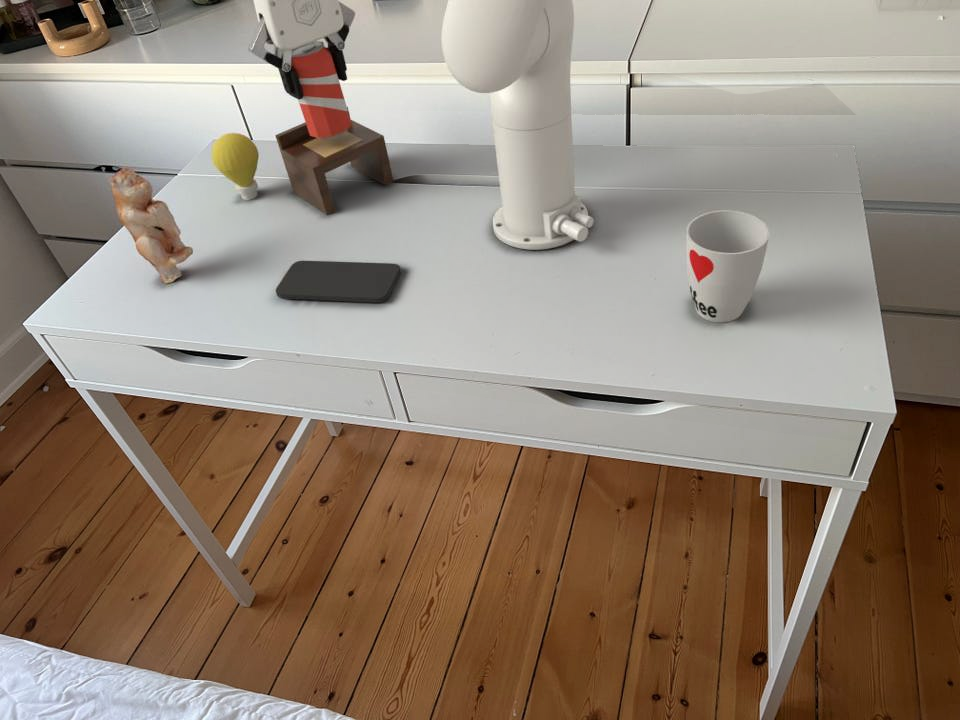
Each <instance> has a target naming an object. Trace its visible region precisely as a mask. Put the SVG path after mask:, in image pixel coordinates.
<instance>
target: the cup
mask: <svg viewBox="0 0 960 720" xmlns="http://www.w3.org/2000/svg"><path fill="white" fill-rule="evenodd" d="M685 232H686V234H685V235H686V236H685V237H686V240H685V241H686V272H687V279H688V286H689V287H688V288H689V292H690V293H689V294H690V296H691V299H692V302H693V305H694V308H695V312H696V313H697V314H698V316H700V317H701V318H702V319H704V320H706V321H709V322H713V323H729V322H732V321H734V320H737V319H738V318H739V317H740V316H741V315H742V314H743V313H744V310H745V309H746V307H747V305H748V304H749V302H750V300H751V299H752V296H753V294H754V291H755V288H756V287H757V283H758V281H759V278H760V275H761V273H762V269H763V266H764V261H765V256H766V251H767V248H768V243H769V239H770V228H769V227H768V225H767V224H766V222H765V221H763V220H762V219H760V218H759V217H757V216H755V215H753V214H751V213H748V212H744V211H740V210H728V209H727V210H725V209H724V210H714V211H709V212H705V213H702V214H700V215H698V216H696V217H694V218H693V219H691V220H690V222H689V223H688V225H687V226H686V231H685Z"/></svg>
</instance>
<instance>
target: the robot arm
mask: <svg viewBox="0 0 960 720" xmlns="http://www.w3.org/2000/svg"><path fill="white" fill-rule="evenodd" d="M253 5H254V10H255V13H256V18H257V22H258V24H257V26H256V29H255V31H254V33H253V35H252V37H251V39H250V42H249V44H248V46H247V50H248V52H249V53H251V54H252V55H254V56H255V57H257V58H259V59H261V60H262V61H264V62H266V63H268V64H269V65H271V66H273V67H275V68H276V69H278V72H279V75H280V79H281V82H282V84H283V85H282V86H283V88H284V89H283V90H284V91H285V93H286V94H288V95H289V96H291V97H292V98H294V99H297V101H298V100H300V99H302V98H303V92H302V89H301V85H300V82H299V78H298V75H297V72H296V70H295V69H293V68H292V67H291V61H292V50H293V49H296V48H298V47H301V46H304V45H306V44H309V43H312V42H314V41H320V40H322V39H323V40H324V42H325V43H326V44H327V46H326V48H327V49H328V50H329V51H330V52H331V55H332V59H333V62H334V66H335V69H336V72H337V76H338V79H339V81H342V82H345V81H347V80H348V76H347V70H348V67H347V63H346V59H345V55H344V49H345V48H346V43H345V42H346V40H347V38H348V36H349V33H350V27H351V26H352V24H353V22H354V19H355V16H356V12H355V11H354V10H353V9H352V8H350V7H349V6H347V5H345V4H344V3H342V2H341V1H339V0H253ZM442 20H443V21H442V27H441V35H440V36H441V38H440V39H441V40H440V41H441V42H440V43H441V51H442V55H443V58H444V62H445V65H446V67H447V69H448V71H449V73H450V74H451V75H452V77H453V78H454V79H455V81H456V82H458V83H459V84H460V85H461V86H462V87H463V88H465V89H467V90H469V91H472V92H475V93H480V94H489V103H490V112H491V113H490V114H491V124H492V132H493V141H494V149H495V155H496V165H497V173H498V182H499V189H500V197H501V206H500V208H498V209H497V210H496V212H495V213H494V215H493V217H492V228H493V233H494V235H495V236H496V237H497V239H498V240H499V241H501V242H502V243H504V244H506V245H508V246H510V247H512V248H516V249H521V250H527V251H529V250H530V251H540V250H549V249H553V248H557V247H562V246H564V245H566V244H568V243H570V242H573V241H574V240H575V241H576V242H579V243H582V242H584V241H585V240H586V239H587V237H588V235H589V229H590V228H592V227H593V225H594V223H595V219H594V217H592V216H590V215H589V213H588V209H587V207H586V205H585V204H584V203H583V202H582V199H581V197H580V196H578V195H576V185H575V166H574V165H575V164H574V145H573V144H574V143H573V123H572V93H571V91H572V90H571V67H572V66H571V63H572V50H573V40H574V29H575V28H574V27H575V11H574V3H573V0H447V3H446V8H445V11H444V15H443V19H442ZM265 44H268V45H273V53H272V52H270V51H268V50H267V49H266V48H265Z"/></svg>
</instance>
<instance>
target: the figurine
mask: <svg viewBox="0 0 960 720" xmlns="http://www.w3.org/2000/svg"><path fill="white" fill-rule="evenodd" d="M108 182H109V184H110V189H111V192H112V196H113V200H114V205H115V209H116V214H117V216H118V218H119V220H120V222H121V223H122V225H123V226H124V227H125V229H126V230H127V231H128V232H129V234H130V235H131V237H132V239H133V241H134V243H135V249H136V251H137V252H138V254H139V255H140V256H141V257H142V258H143V259H144V260H146V261H148V262H149V263H150V265H151V267H153V268H154V269H155V270H156V271H157V272H158V275H159V276H160V278H161V279H160V282H161V283H163V284H170V283H173V282H174V281H175V280H176V279H178V278H181V277H182V275H183V274H182V271H181V270H180V269H179V268H178V267H177V265H179V264H181V263H184V262H185V261H186V260H187V259H189V258H190V257H191V255H193V254H194V248H193V247H192V246H187V245H185V244H184V242H183V241H182V239H181V237H180V235H181V233H182V232H181V229H180V228H179V226H178V224H177V222H176V220H175V217H174V215H173V214H172V212H171V211H170V209H169V206H168V204H167V203H166V202H165V201H163V200H155V199H154V198H153V187H152V185H151V183H150V181H149V180H148V179H146V178H144V177H143V176H142V175H140V174H139V173H137V172H135V171H134V169H133V167H130V166H123V167H121V168H120V169H119V170H118V171H117V172H116V173H115V174H114V175H112V176H111V177H110V179H109V181H108Z"/></svg>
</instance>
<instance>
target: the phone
mask: <svg viewBox="0 0 960 720" xmlns="http://www.w3.org/2000/svg"><path fill="white" fill-rule="evenodd" d="M401 270H402V269H401V267H400V265H399V264H397V263H390V262H360V261H359V262H357V261H329V260H326V261H325V260H298V261H295V262H294V263H292V264H291V265H290V267H289V269H287V271H286V273H285V274H284V276H283V278H282V279H281V280H280V282H279V283H278V285H277V286H276V288H275V294H276V296H277V297H278V298H279V299H287V300H288V299H291V300H314V301H333V302H334V301H335V302H354V303H355V302H356V303H357V302H358V303H383V302H385V301H388V299H389V298H390V296H391V294H392V292H393V290H394V288H395V286H396V283H397V282H398V279H399V277H400V275H401V272H402V271H401Z"/></svg>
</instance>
